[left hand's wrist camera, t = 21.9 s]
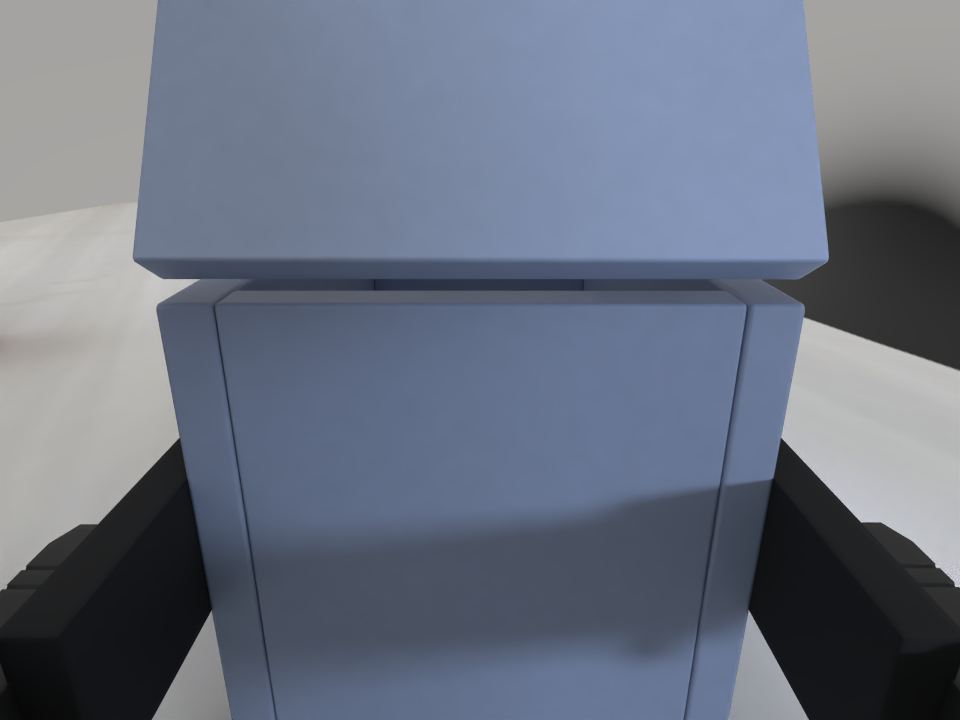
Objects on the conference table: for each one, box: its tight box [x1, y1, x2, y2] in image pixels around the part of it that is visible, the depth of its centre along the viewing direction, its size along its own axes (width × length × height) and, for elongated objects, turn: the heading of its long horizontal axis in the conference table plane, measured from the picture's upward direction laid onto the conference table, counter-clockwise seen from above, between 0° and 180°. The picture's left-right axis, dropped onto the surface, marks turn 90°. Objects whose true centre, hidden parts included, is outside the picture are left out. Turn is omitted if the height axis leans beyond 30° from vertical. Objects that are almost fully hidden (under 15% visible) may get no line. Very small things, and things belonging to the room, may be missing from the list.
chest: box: [156, 279, 805, 720], centre depth 19 cm, size 15×10×11 cm, turn 0°
